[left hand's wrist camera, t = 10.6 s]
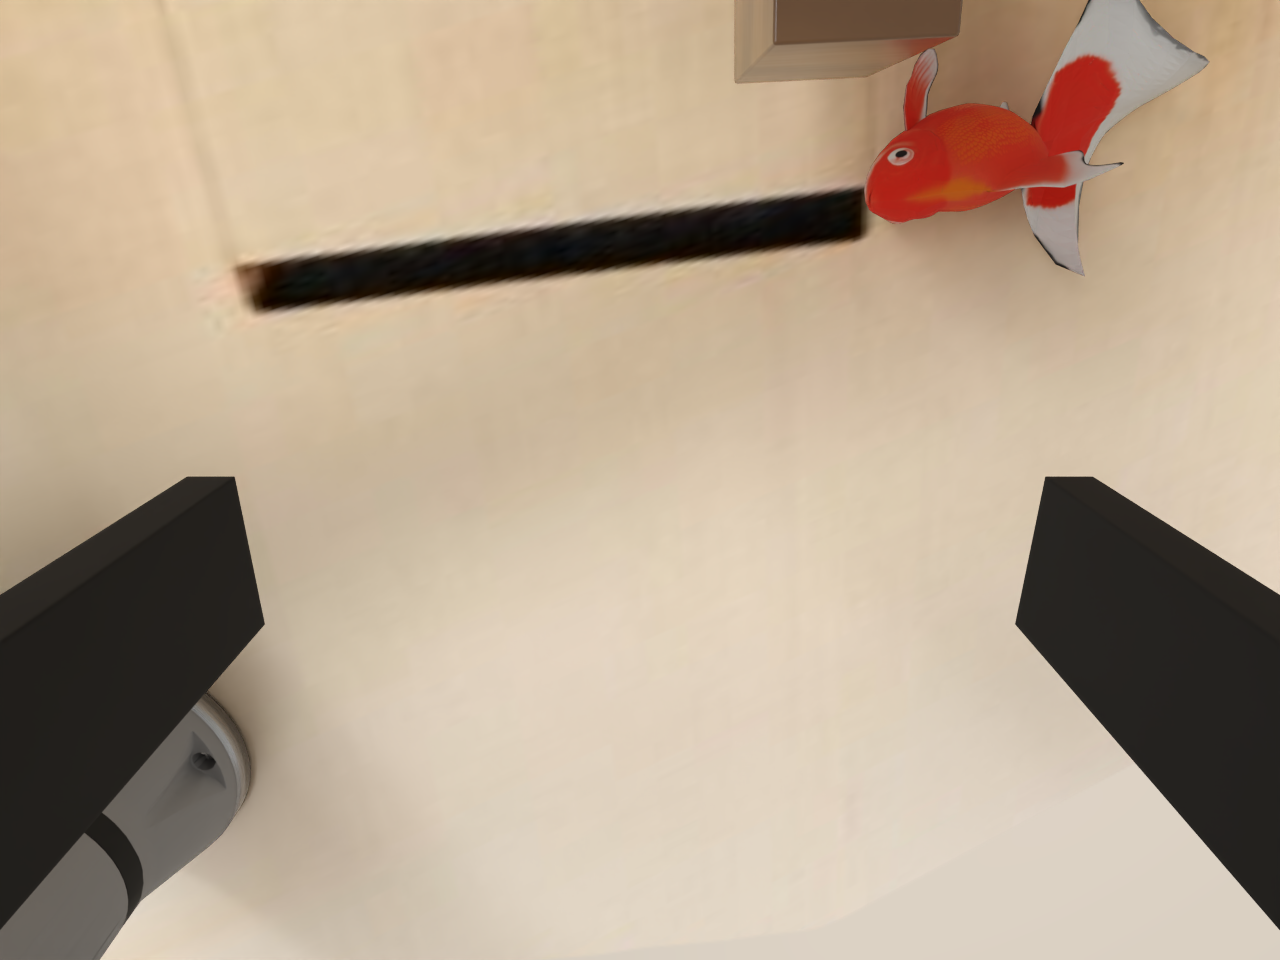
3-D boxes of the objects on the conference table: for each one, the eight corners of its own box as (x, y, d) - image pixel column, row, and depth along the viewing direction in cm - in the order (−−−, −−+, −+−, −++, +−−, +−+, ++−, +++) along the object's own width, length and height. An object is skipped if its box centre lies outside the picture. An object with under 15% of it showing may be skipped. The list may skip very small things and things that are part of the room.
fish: (855, -57, 30) (1054, -11, 23) (1119, -29, 36) (1338, 14, 29) (790, 215, 36) (929, 311, 30) (1020, 200, 42) (1180, 277, 36)
